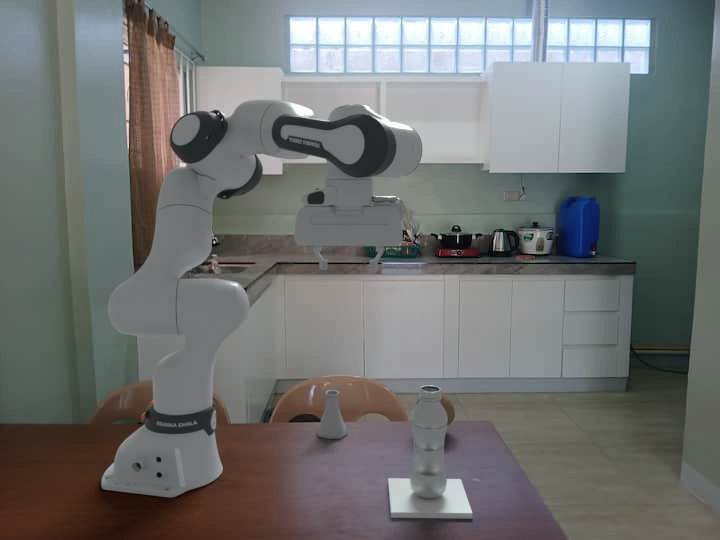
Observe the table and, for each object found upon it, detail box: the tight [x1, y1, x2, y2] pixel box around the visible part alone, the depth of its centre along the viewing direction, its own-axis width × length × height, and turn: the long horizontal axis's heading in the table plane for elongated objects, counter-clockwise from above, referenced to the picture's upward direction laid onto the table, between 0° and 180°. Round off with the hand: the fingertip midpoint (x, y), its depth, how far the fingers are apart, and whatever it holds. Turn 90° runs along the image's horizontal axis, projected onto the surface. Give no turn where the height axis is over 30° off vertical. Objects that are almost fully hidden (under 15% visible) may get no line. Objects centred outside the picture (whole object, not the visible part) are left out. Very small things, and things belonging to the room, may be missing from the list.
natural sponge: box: [415, 392, 456, 427], centre depth 135 cm, size 9×9×10 cm
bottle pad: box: [387, 477, 473, 520], centre depth 106 cm, size 14×12×1 cm
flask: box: [316, 389, 348, 440], centre depth 134 cm, size 7×7×10 cm
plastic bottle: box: [409, 385, 448, 499], centre depth 105 cm, size 6×7×20 cm
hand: (348, 269), depth 110 cm, fingers open, 8 cm apart
